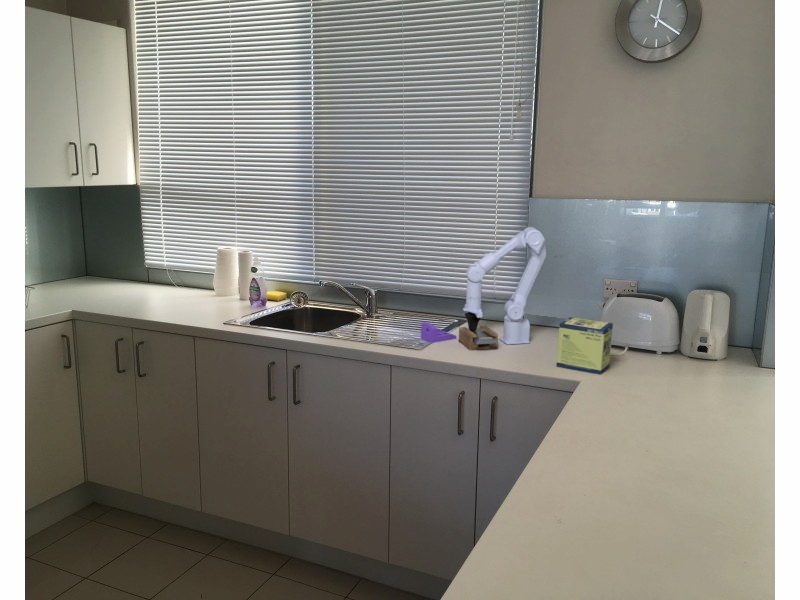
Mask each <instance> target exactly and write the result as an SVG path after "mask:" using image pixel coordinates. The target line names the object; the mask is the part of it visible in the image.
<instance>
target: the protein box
mask: <svg viewBox="0 0 800 600" xmlns="http://www.w3.org/2000/svg"><path fill="white" fill-rule="evenodd" d="M613 327H614V323H613V322H606V321H599V320H592V319H585V318H578V317H568V318H566V319H565V320H563V321H562V322H560V323H559V328H558V340H557V351H556V353H557V354H556V365H555V366H556V367H558V368H563V369H570V370H575V371H578V372H585V373H589V374H596V375H599V376H600V375H602V374H603V373H604V372H605V371H606V370H607V369H608V368H610V361H611V359H610V358H611V347H612V335H613Z"/></svg>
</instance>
